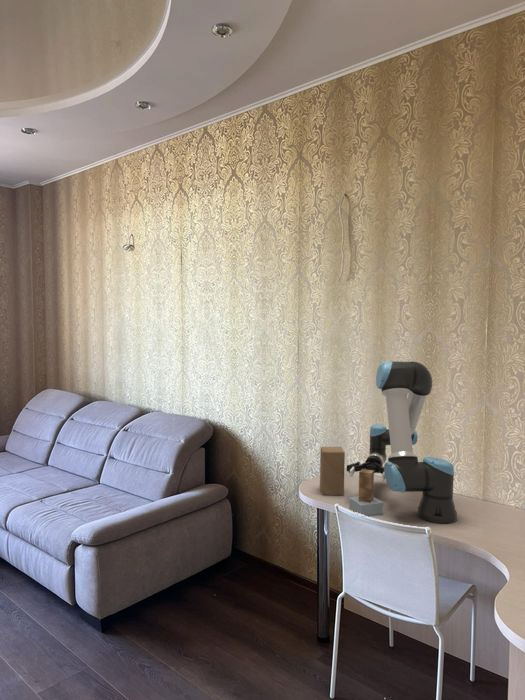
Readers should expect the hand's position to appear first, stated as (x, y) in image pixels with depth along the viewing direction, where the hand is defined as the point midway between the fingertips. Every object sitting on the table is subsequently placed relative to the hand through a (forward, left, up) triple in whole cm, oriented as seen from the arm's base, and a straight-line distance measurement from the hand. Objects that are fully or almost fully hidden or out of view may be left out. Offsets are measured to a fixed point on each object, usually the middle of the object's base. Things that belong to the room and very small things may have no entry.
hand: (366, 475), depth 213 cm
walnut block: (-3, +2, -9) cm, 10 cm away
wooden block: (+23, +1, -14) cm, 27 cm away
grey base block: (-3, +3, -14) cm, 15 cm away
